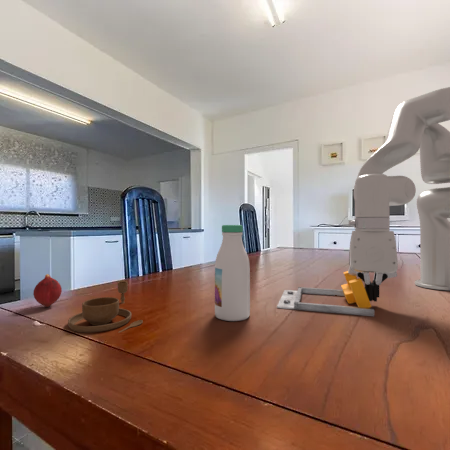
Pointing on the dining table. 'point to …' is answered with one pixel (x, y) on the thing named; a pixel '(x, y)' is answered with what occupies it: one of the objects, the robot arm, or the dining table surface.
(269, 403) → the dining table surface
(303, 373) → the dining table surface
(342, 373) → the dining table surface
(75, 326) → the place setting
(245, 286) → the milk bottle
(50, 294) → the onion
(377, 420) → the dining table surface
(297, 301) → the hinge bracket
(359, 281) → the pipe clamp
